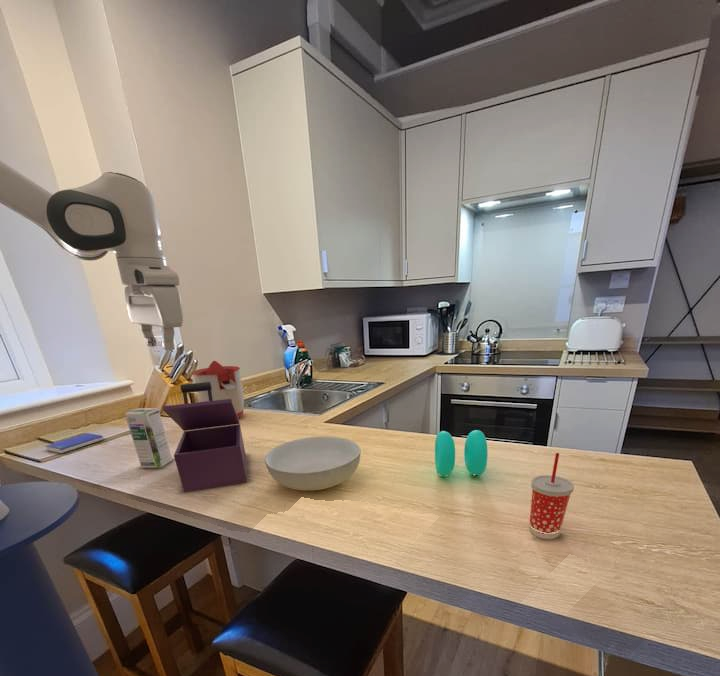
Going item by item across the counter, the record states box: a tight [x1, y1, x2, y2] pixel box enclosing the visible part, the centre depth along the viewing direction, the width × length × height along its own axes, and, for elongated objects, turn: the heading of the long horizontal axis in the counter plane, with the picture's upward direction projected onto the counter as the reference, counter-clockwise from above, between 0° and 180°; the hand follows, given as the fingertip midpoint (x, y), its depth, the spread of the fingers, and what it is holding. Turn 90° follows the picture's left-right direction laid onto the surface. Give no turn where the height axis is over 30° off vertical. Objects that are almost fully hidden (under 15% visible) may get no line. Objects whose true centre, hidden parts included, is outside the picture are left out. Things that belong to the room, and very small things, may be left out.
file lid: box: [162, 382, 241, 432], centre depth 91 cm, size 19×14×6 cm
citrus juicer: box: [191, 360, 245, 420], centre depth 135 cm, size 16×17×20 cm
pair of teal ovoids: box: [434, 429, 488, 478], centre depth 85 cm, size 10×10×10 cm
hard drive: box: [45, 432, 104, 454], centre depth 121 cm, size 2×8×12 cm
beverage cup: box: [528, 452, 575, 540], centre depth 62 cm, size 6×6×14 cm
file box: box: [173, 424, 248, 493], centre depth 94 cm, size 18×14×9 cm
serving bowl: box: [264, 436, 362, 492], centre depth 87 cm, size 21×21×7 cm
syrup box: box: [124, 407, 173, 469], centre depth 100 cm, size 6×6×14 cm
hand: (160, 348), depth 84 cm, fingers open, 8 cm apart
